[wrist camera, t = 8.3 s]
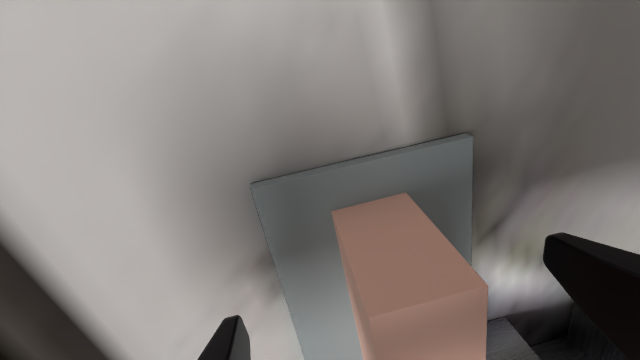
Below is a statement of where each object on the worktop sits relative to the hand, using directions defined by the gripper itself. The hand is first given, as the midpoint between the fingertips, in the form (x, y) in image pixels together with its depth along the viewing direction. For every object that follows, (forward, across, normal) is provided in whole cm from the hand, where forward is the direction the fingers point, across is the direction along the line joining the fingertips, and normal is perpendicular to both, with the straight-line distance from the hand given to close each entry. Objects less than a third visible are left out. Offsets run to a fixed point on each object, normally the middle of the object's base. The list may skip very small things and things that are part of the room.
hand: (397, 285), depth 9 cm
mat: (+2, 0, +4) cm, 4 cm away
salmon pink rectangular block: (+2, 0, +3) cm, 4 cm away
